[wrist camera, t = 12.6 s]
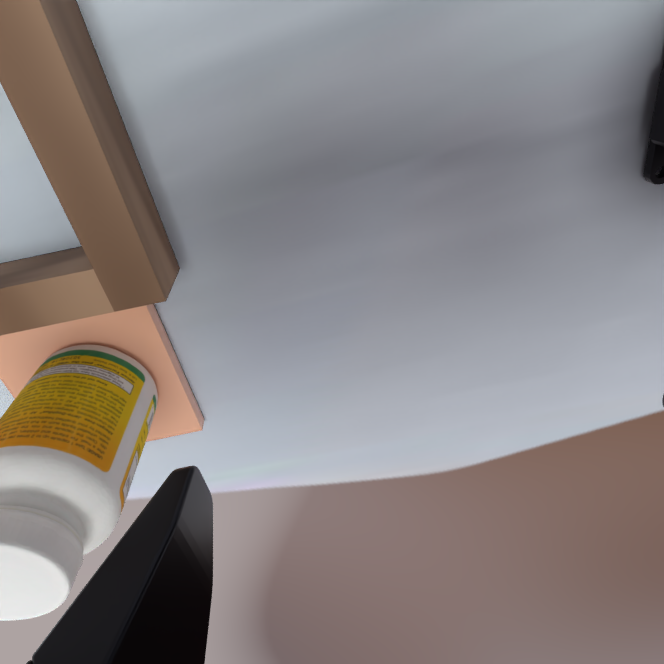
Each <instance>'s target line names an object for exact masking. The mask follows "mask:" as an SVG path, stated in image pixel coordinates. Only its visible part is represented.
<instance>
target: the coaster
mask: <svg viewBox="0 0 664 664" xmlns="http://www.w3.org/2000/svg"><path fill="white" fill-rule="evenodd" d="M88 344H89V345H100V346H105V347H109V348H112V349H115V350H118V351H120V352H122V353H124V354H126V355H128V356H129V357H131V358H133V359H134V360H136V361H137V362H139V363H140V364H141V365H142V366H143V367H144V368H145V369H146V370H147V371H148V372H149V374H150V375H151V377H152V378H153V380H154V382H155V385H156V388H157V394H158V402H157V408H156V411H155V414H154V418H153V421H152V424H151V427H150V430H149V433H148V436H147V439H146V442H147V441H152V440H157V439H162V438H167V437H171V436H176V435H181V434H186V433H191V432H196V431H201V430H202V429H203V424H204V418H203V416H202V413H201V411H200V409H199V406H198V404H197V402H196V400H195V397H194V395H193V393H192V391H191V388H190V386H189V384H188V381H187V379H186V377H185V375H184V372H183V370H182V368H181V366H180V363H179V361H178V359H177V356H176V354H175V352H174V350H173V347H172V345H171V343H170V341H169V338H168V336H167V334H166V332H165V329H164V327H163V325H162V322H161V320H160V318H159V316H158V313H157V311H156V309H155V307H154V304H150V305H145V306H140V307H135V308H131V309H126V310H121V311H116V312H111V313H106V314H102V315H97V316H92V317H87V318H82V319H78V320H73V321H68V322H63V323H58V324H54V325H49V326H44V327H39V328H34V329H30V330H25V331H20V332H15V333H10V334H5V335H1V336H0V379H1V380H2V381H3V383H4V384H5V386H6V387H7V388H8V390H9V391H10V393H11V394H12V395H13V397H14V398H16V397H17V396H18V394H19V393H20V392H21V390H22V389H23V388H24V387H25V385H26V384H27V383H28V381H29V380H30V379H31V377H32V376H33V375H34V373H35V372H36V371H37V369H38V368H39V367H40V366H41V364H42V363H43V362H44V361H45V360H46V359H47V358H48V357H49V356H51V355H52V354H53V353H55V352H57V351H59V350H61V349H64V348H68V347H71V346H77V345H88Z"/></svg>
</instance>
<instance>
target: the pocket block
mask: <svg viewBox="0 0 664 664" xmlns="http://www.w3.org/2000/svg"><path fill="white" fill-rule="evenodd" d="M0 82H1V84H2V86H3V88H4V91H5V93H6V95H7V97H8V99H9V101H10V103H11V105H12V107H13V109H14V111H15V113H16V115H17V117H18V119H19V121H20V123H21V125H22V127H23V129H24V131H25V133H26V135H27V137H28V139H29V141H30V143H31V145H32V147H33V149H34V151H35V153H36V155H37V157H38V159H39V161H40V163H41V165H42V167H43V169H44V171H45V173H46V175H47V177H48V179H49V181H50V183H51V185H52V187H53V189H54V191H55V193H56V195H57V197H58V199H59V201H60V203H61V205H62V207H63V209H64V211H65V213H66V215H67V217H68V219H69V221H70V223H71V225H72V227H73V229H74V231H75V233H76V235H77V237H78V239H79V241H80V243H81V245H82V247H78V248H73V249H68V250H63V251H58V252H54V253H49V254H44V255H39V256H35V257H30V258H25V259H20V260H15V261H11V262H6V263H1V264H0V336H1V335H5V334H10V333H15V332H20V331H25V330H30V329H34V328H39V327H44V326H49V325H54V324H58V323H63V322H68V321H73V320H78V319H82V318H87V317H92V316H97V315H102V314H106V313H111V312H116V311H121V310H126V309H131V308H135V307H140V306H145V305H150V304H155V303H159V302H164V301H166V300H167V298H168V295H169V293H170V291H171V288H172V286H173V283H174V281H175V279H176V276H177V274H178V271H179V269H180V268H179V266H178V263H177V260H176V258H175V255H174V253H173V250H172V247H171V245H170V242H169V240H168V237H167V235H166V232H165V229H164V227H163V224H162V222H161V219H160V216H159V214H158V211H157V209H156V206H155V204H154V201H153V198H152V196H151V193H150V191H149V188H148V185H147V183H146V180H145V178H144V175H143V173H142V170H141V167H140V165H139V162H138V160H137V157H136V154H135V152H134V149H133V147H132V144H131V142H130V139H129V136H128V134H127V131H126V129H125V126H124V124H123V121H122V118H121V116H120V113H119V111H118V108H117V105H116V103H115V100H114V98H113V95H112V93H111V90H110V87H109V85H108V82H107V80H106V77H105V74H104V72H103V69H102V67H101V64H100V62H99V59H98V56H97V54H96V51H95V49H94V46H93V43H92V41H91V38H90V36H89V33H88V31H87V28H86V25H85V23H84V20H83V18H82V15H81V13H80V10H79V7H78V5H77V2H76V0H0Z"/></svg>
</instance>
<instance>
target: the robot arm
mask: <svg viewBox="0 0 664 664" xmlns="http://www.w3.org/2000/svg"><path fill="white" fill-rule="evenodd" d="M660 167H661V171H660V173H659V174H658V175H656V172H657V170H658V169H659V168H660ZM644 178H645V180H647V181H648V182H651V183H653V184H663V183H664V62H663V68H662V72H661V75H660V81H659V86H658V92H657V98H656V103H655V109H654V115H653V120H652V126H651V132H650V141H649V146H648V152H647V158H646V163H645V169H644ZM663 406H664V395H663ZM212 586H213V502H212V496H211V493H210V491H209V489H208V487H207V485H206V483H205V481H204V479H203V476H202V474H201V472H200V470H199V469H198V468H197V467H196V466H188V467H184V468H179V469H176V470H174V471H173V472H172V473H171V474H170V475H169V476H168V478H167V479H166V480H165V482H164V483H163V484H162V486H161V487H160V488H159V490H158V491H157V492H156V494H155V495H154V496H153V497H152V499H151V500H150V501H149V503H148V504H147V505H146V507H145V508H144V509H143V511H142V512H141V513H140V515H139V516H138V517H137V519H136V520H135V522H134V523H133V524H132V525H131V527H130V528H129V529H128V531H127V532H126V533H125V534H124V536H123V537H122V538H121V540H120V541H119V542H118V544H117V545H116V546H115V548H114V549H113V550H112V552H111V553H110V554H109V555H108V557H107V558H106V559H105V561H104V562H103V564H102V565H101V566H100V567H99V569H98V570H97V571H96V573H95V574H94V575H93V577H92V578H91V579H90V581H89V582H88V583H87V584H86V586H85V587H84V589H83V590H82V591H81V592H80V594H79V595H78V596H77V598H76V599H75V601H74V602H73V603H72V604H71V606H70V607H69V608H68V610H67V611H66V612H65V614H64V615H63V616H62V618H61V619H60V620H59V621H58V623H57V624H56V625H55V627H54V628H53V629H52V631H51V632H50V633H49V635H48V636H47V637H46V639H45V640H44V641H43V643H42V644H41V645H40V647H39V648H38V649H37V651H36V652H35V653H34V655H33V657H32V660H30V661H28V662H27V663H26V664H204V662H205V652H206V644H207V634H208V626H209V616H210V607H211V598H212Z"/></svg>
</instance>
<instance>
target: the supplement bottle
mask: <svg viewBox="0 0 664 664" xmlns="http://www.w3.org/2000/svg"><path fill="white" fill-rule="evenodd" d="M157 402H158V394H157V388H156V385H155V382H154V380H153V378H152V377H151V375H150V374H149V372H148V371H147V370H146V369H145V368H144V367H143V366H142V365H141V364H140V363H139V362H137V361H136V360H134V359H133V358H131V357H129V356H128V355H126V354H124V353H122V352H120V351H118V350H115V349H112V348H109V347H105V346H100V345H89V344H88V345H77V346H71V347H68V348H64V349H61V350H59V351H57V352H55V353H53V354H52V355H51V356H49V357H48V358H47V359H46V360H45V361H44V362H43V363H42V364H41V366H40V367H39V368H38V369H37V371H36V372H35V373H34V375H33V376H32V377H31V379H30V380H29V381H28V383H27V384H26V385H25V387H24V388H23V389H22V390H21V392H20V393H19V394H18V396H17V397H16V398H15V400H14V401H13V402H12V404H11V405H10V406H9V408H8V409H7V411H6V412H5V413H4V415H3V416H2V417H1V419H0V620H2V621H8V620H22V619H29V618H35V617H38V616H41V615H44V614H47V613H49V612H51V611H53V610H54V609H56V608H57V607H59V606H60V605H61V604H62V603H63V602H64V601H65V600H66V599H67V597H68V595H69V593H70V591H71V588H72V586H73V583H74V581H75V578H76V576H77V573H78V571H79V569H80V567H81V565H82V562H83V555H85V554H87V553H89V552H91V551H93V550H94V549H95V548H97V547H98V546H100V545H101V544H102V543H103V542H104V541H105V540H106V539H107V538H108V537H109V535H110V534H111V533H112V531H113V530H114V528H115V527H116V525H117V523H118V520H119V517H120V515H121V512H122V509H123V507H124V503H125V501H126V498H127V495H128V492H129V489H130V486H131V483H132V480H133V477H134V474H135V471H136V468H137V465H138V462H139V459H140V456H141V453H142V451H143V448H144V445H145V442H146V439H147V436H148V433H149V430H150V427H151V424H152V421H153V418H154V414H155V411H156V408H157Z"/></svg>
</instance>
